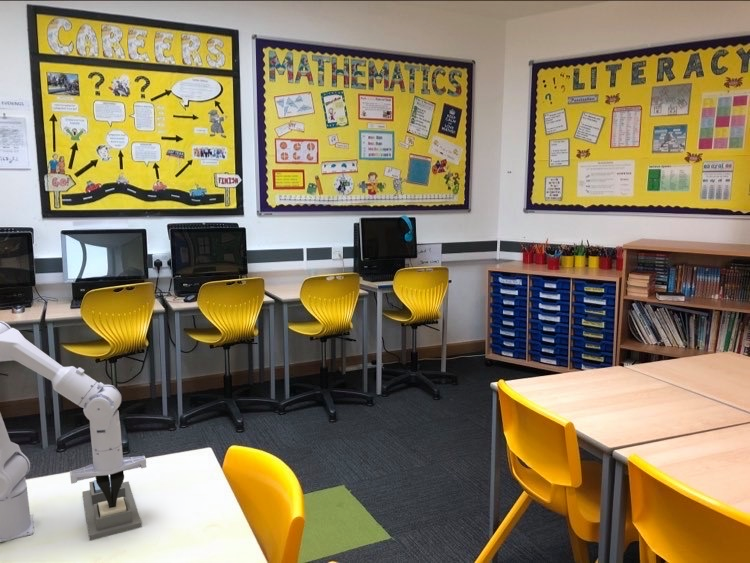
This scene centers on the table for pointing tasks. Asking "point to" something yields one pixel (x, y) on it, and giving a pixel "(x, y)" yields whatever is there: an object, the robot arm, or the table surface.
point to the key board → (111, 522)
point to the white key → (106, 511)
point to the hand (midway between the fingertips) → (112, 505)
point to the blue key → (97, 488)
